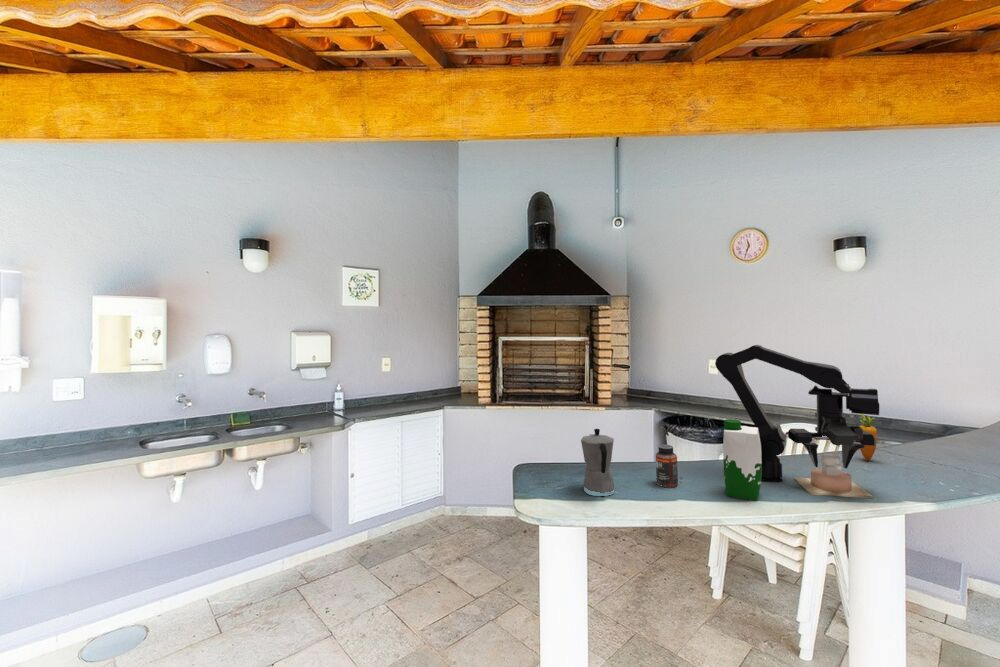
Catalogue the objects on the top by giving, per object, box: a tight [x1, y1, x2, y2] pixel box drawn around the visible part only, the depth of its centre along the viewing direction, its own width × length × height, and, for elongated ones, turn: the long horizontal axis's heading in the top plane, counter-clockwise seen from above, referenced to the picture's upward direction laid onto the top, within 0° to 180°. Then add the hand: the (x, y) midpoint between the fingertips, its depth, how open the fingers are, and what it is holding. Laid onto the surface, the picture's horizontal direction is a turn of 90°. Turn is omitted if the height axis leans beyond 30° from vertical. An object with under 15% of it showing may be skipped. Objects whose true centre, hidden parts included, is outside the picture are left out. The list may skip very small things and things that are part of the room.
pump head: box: [820, 453, 843, 470], centre depth 118 cm, size 4×7×5 cm, turn 165°
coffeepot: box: [580, 428, 616, 493], centre depth 122 cm, size 15×9×18 cm, turn 0°
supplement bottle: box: [655, 444, 679, 488], centre depth 126 cm, size 6×6×11 cm
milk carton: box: [722, 418, 762, 502], centre depth 117 cm, size 9×9×20 cm
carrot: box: [859, 414, 878, 462], centre depth 139 cm, size 5×5×15 cm
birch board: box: [793, 476, 873, 499], centre depth 119 cm, size 14×11×1 cm
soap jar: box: [810, 463, 853, 493], centre depth 119 cm, size 9×9×6 cm
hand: (830, 467), depth 119 cm, fingers open, 7 cm apart
